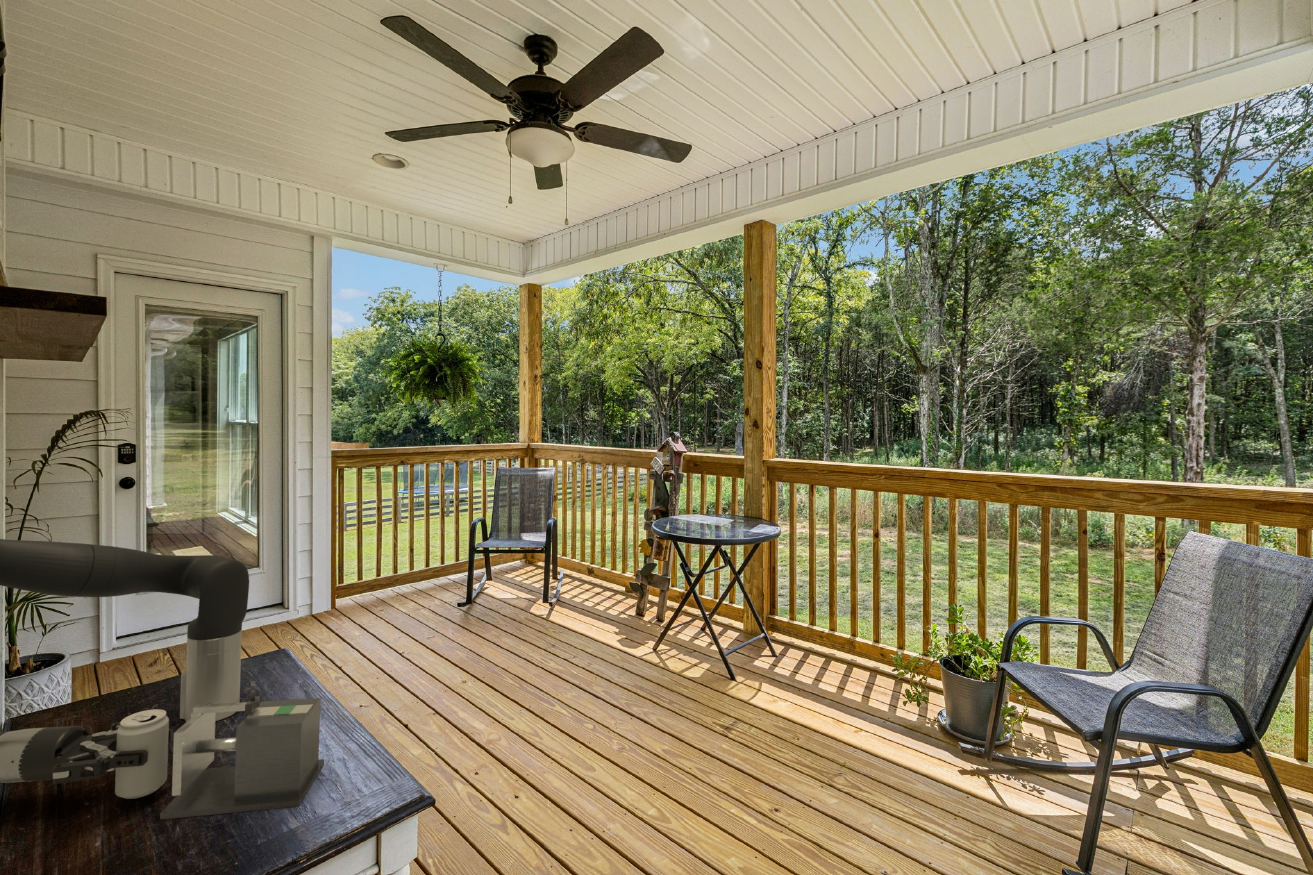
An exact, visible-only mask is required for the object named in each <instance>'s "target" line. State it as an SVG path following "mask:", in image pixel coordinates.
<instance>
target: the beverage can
mask: <svg viewBox="0 0 1313 875" xmlns="http://www.w3.org/2000/svg"><path fill="white" fill-rule="evenodd" d="M119 722H120V725H121V726H120V727H119V728H118V730H117V746H116V752H117V755H118V753H119V752H121V751H135V750H147V751H148V761H147V762H146V763H145V764H144V765H143V766H134V767H120V768H116V769H115V779H114V780H115V781H114V782H115V783H114V785H115V786H114V793H115V796H117V797H119V798H123V799H126V800H129V799H131V800H133V799H138V798H142V797H146V796H148V795H151V794H153V793H154V792H156V791H157V790H158V789H160V787H161V786H163V785H164V784H165V783H166V781H167V779H168V758H169V757H168V756H169V743H168V733H169V727H170V719H169V717H168V715H167V711H166V710H164V709H159V708H158V709H157V708H156V709H147V710H142V711H139V712H138V711H137V712H135V713H133V714H130V715H128V716H126V717H124V718H123V719H121V721H119Z"/></svg>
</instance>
